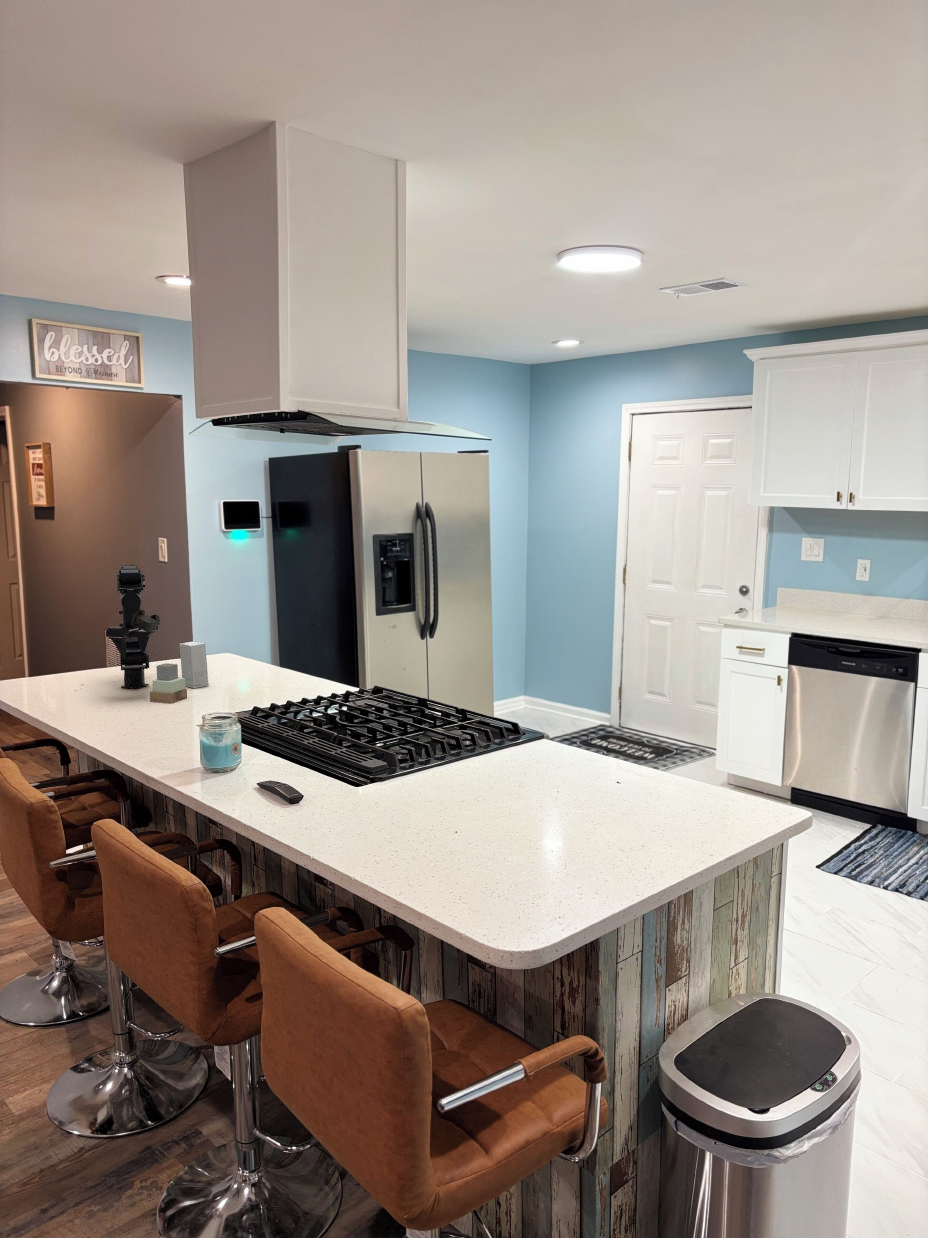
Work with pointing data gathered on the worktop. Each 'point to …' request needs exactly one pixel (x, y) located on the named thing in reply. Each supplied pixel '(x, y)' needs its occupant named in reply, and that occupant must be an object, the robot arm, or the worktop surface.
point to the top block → (168, 685)
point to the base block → (168, 696)
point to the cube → (167, 672)
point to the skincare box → (194, 664)
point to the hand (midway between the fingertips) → (133, 655)
